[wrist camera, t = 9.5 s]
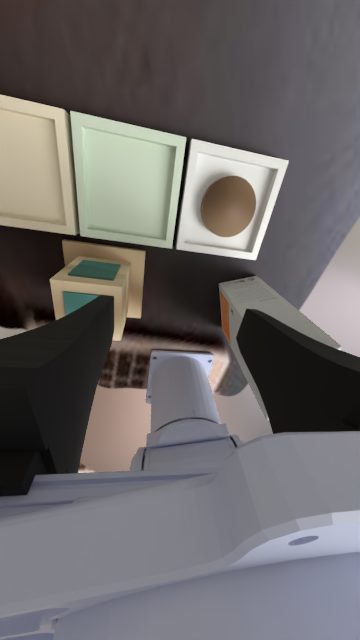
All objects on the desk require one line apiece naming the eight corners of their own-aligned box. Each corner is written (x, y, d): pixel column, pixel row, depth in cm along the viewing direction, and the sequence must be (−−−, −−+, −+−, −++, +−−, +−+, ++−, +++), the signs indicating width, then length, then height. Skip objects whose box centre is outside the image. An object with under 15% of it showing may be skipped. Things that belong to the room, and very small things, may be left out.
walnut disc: (242, 238, 19) (246, 240, 18) (196, 231, 18) (198, 233, 18) (258, 182, 17) (263, 181, 16) (206, 171, 16) (209, 170, 15)
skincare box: (216, 282, 22) (271, 359, 11) (256, 274, 22) (347, 344, 11) (220, 329, 25) (265, 423, 15) (255, 322, 25) (325, 411, 15)
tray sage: (171, 245, 19) (171, 248, 18) (84, 233, 18) (80, 236, 17) (184, 141, 16) (186, 137, 15) (76, 116, 14) (70, 110, 13)
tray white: (250, 257, 21) (255, 260, 20) (175, 246, 19) (176, 249, 18) (280, 163, 17) (288, 160, 16) (189, 142, 16) (191, 138, 15)
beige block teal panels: (129, 306, 21) (120, 341, 16) (82, 301, 21) (57, 337, 15) (131, 261, 19) (121, 286, 14) (78, 254, 18) (48, 277, 13)
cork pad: (141, 315, 23) (140, 318, 22) (72, 309, 22) (70, 312, 21) (145, 250, 19) (145, 251, 19) (64, 239, 18) (61, 240, 18)
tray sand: (79, 233, 18) (75, 235, 17) (-21, 219, 17) (-32, 220, 16) (70, 115, 14) (63, 109, 13) (-60, 85, 13) (-79, 76, 12)
